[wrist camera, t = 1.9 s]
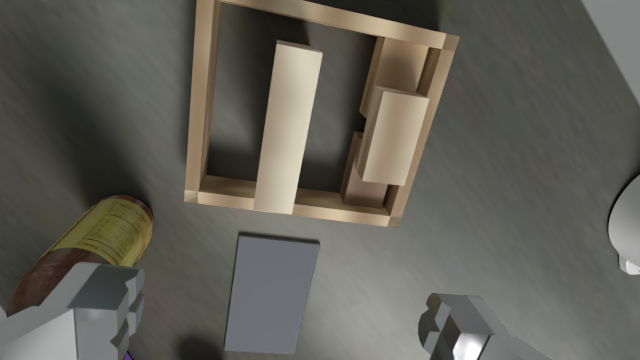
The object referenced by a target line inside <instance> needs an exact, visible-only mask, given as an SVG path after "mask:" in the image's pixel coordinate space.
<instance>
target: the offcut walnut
mask: <svg viewBox="0 0 640 360" xmlns="http://www.w3.org/2000/svg"><path fill="white" fill-rule="evenodd" d="M363 134H364V132H360V131H354V133H353V137H352V141H351V146H350V150H349V154H348V158H347V163H346V167H345V171H344V175H343V180H342V184H341V188H340V192H339V193H340V196H341V198H342V201H343V204H347V205H355V206H363V207H371V208H379V209H381V207H382V203H383V200H384V197H385V193H386V190H387V186H388V184H384V183H375V182H367V181H362V179H361V178H360V176H359V174H358V172H357V170H356V165H357V160H358V156H359V151H360V147H361V143H362V138H363Z"/></svg>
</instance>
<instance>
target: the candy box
mask: <svg viewBox="0 0 640 360" xmlns="http://www.w3.org/2000/svg"><path fill="white" fill-rule="evenodd" d="M123 360H132V359H131V358H130V356H129V354H128V353H127V352H126V354H125V356H124V358H123Z"/></svg>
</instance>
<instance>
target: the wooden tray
mask: <svg viewBox="0 0 640 360" xmlns="http://www.w3.org/2000/svg"><path fill="white" fill-rule="evenodd" d="M222 2H225V3H229V4H234V5H238V6H243V7H247V8H252V9H256V10H261V11H265V12H270V13H274V14H279V15H283V16H288V17H292V18H297V19H301V20H306V21H310V22H315V23H319V24H324V25H328V26H333V27H337V28H342V29H346V30H351V31H355V32H360V33H364V34H369V35H373V36H378V37H387V38H391V39H396V40H400V41H405V42H409V43H414V44H418V45H423V46H427V47H429V48H428V52H427V55H426V59H425V62H424V65H423V69H422V72H421V76H420V79H419V82H418V86H417V89H416V92H417V93H419V94H421V95H423V96H425V97H427V98H429V102H428V106H427V109H426V113H425V116H424V120H423V123H422V126H421V130H420V133H419V137H418V140H417V144H416V147H415V151H414V154H413V158H412V161H411V165H410V168H409V171H408V175H407V178H406V182H405V185H404V186H401V185H392V184H388V186H387V190H386V193H385V197H384V200H383V203H382V207H381V209H379V208H371V207H363V206H355V205H347V204H343V201H342V198H341V196H340V193H335V192H327V191H320V190H313V189H306V188H298V187H297V190H296V196H295V201H294V206H293V211H292V214H289V215H297V216H305V217H313V218H321V219H329V220H337V221H345V222H353V223H362V224H370V225H378V226H386V227H394V228H398V227H399V224H400V221H401V217H402V214H403V211H404V208H405V205H406V202H407V199H408V196H409V193H410V190H411V186H412V183H413V180H414V177H415V174H416V171H417V168H418V165H419V162H420V159H421V155H422V152H423V149H424V146H425V143H426V140H427V137H428V134H429V131H430V127H431V124H432V121H433V118H434V115H435V112H436V109H437V106H438V103H439V100H440V96H441V93H442V90H443V87H444V84H445V81H446V78H447V75H448V72H449V69H450V65H451V62H452V59H453V56H454V53H455V50H456V47H457V44H458V41H459V38H460V37H458V36H454V35H449V34H445V33H441V32H437V31H432V30H428V29H424V28H419V27H415V26H411V25H406V24H402V23H398V22H394V21H389V20H385V19H381V18H376V17H372V16H368V15H363V14H359V13H355V12H350V11H346V10H342V9H338V8H333V7H329V6H325V5H320V4H316V3H312V2H307V1H303V0H197V6H196V22H195V37H194V53H193V69H192V85H191V101H190V117H189V133H188V149H187V165H186V181H185V197H184V202H191V203H199V204H207V205H216V206H224V207H232V208H240V209H248V210H253V205H254V198H255V190H256V183H257V182H255V181H247V180H240V179H233V178H226V177H218V176H211V175H207V166H208V155H209V143H210V132H211V120H212V109H213V97H214V85H215V74H216V62H217V51H218V39H219V27H220V16H221V4H222ZM256 211H260V210H256ZM264 212H268V211H264ZM272 213H276V212H272ZM280 214H284V213H280Z"/></svg>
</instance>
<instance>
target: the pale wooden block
mask: <svg viewBox="0 0 640 360" xmlns="http://www.w3.org/2000/svg"><path fill="white" fill-rule="evenodd" d="M322 54H323V53H321V52H320V51H318V50H316V49H314V48H313V47H311V46H307V45H303V44H298V43H293V42H288V41H284V40H279V39H277V43H276V50H275V57H274V64H273V71H272V78H271V85H270V92H269V98H268V105H267V112H266V119H265V126H264V133H263V140H262V147H261V154H260V161H259V168H258V176H257V183H256V190H255V198H254V205H253V210H260V211H268V212H276V213H284V214H292V211H293V206H294V201H295V196H296V190H297V185H298V180H299V175H300V169H301V164H302V159H303V154H304V149H305V143H306V138H307V133H308V128H309V122H310V117H311V112H312V107H313V101H314V96H315V91H316V86H317V81H318V75H319V70H320V65H321V60H322Z"/></svg>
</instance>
